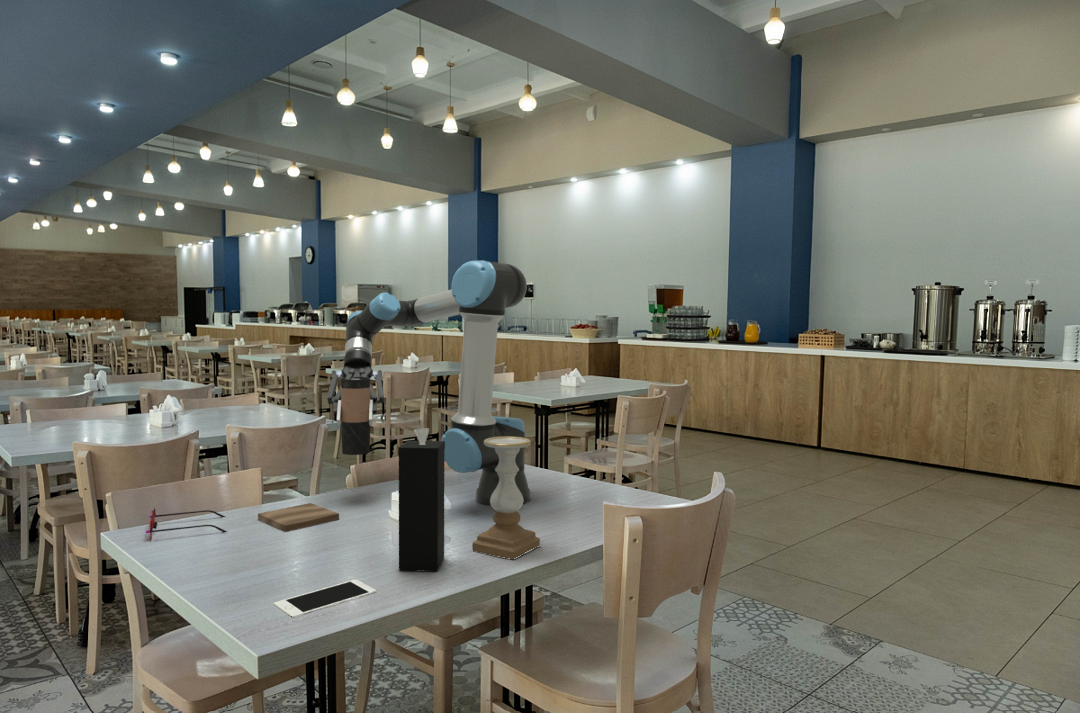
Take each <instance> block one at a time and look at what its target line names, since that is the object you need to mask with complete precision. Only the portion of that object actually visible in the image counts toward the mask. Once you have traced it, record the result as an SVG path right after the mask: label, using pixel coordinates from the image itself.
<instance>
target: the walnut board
mask: <svg viewBox="0 0 1080 713" xmlns="http://www.w3.org/2000/svg"><path fill="white" fill-rule="evenodd" d="M257 520H258V521H260V522H263V523H265V524H267V525H270V526H271V527H273V528H276V529H278V530H280V531H283V532H284V533H286V532H290V531H291V530H292V531H295V530H299V529H303V528H304V529H305V528H309V527H312V526H318V525H321V524H325V523H330V522H334V521H338V520H340V513H338V512H336V511H333V510H332V509H328V508H325V507H322V506H320V505H317V504H314V503H312V502H309V503H305V504H299V505H294V506H289V507H284V508H279V509H274V510H270V511H269V510H268V511H264V512H260V513H257Z"/></svg>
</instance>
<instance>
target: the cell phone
mask: <svg viewBox="0 0 1080 713" xmlns="http://www.w3.org/2000/svg"><path fill="white" fill-rule="evenodd" d="M373 591H376V592H377V590H376V589H375V588H373V587H371V586H369V585H367V584H366V583H363V582H361V581H360V580H359V579H351V580H347V581H345V582H341V583H338V584H333V585H330V586H327V587H324V588H319V589H317V590H313V591H309V592H306V593H303V594H299V595H296V596H292V597H288V598H286V599H285V598H284V599H281V600H278V601H275V602H273V605H274V606H275V607H276V606H277V608H278V609H279V610H280V611H282V612H283V611H284V612H283V613H285V612H286V613H287V614H289V615H290V616H292V617H291V618H295V617H294V616H297V617H299V616H298V615H301V614H304V613H307V614H309V613H308V612H310V613H312V612H311V611H314V610H316V609H320V608H323V607H325V606H326V607H327V606H330V605H333V604H334V603H335V604H336V603H340V602H342V601H343V600H349V598H350V599H351V598H355V597H359V596H363V595H365V594H369V593H371V592H373ZM363 597H364V596H363ZM340 604H341V603H340ZM333 606H334V605H333ZM330 607H331V606H330ZM327 608H328V607H327ZM320 610H321V609H320ZM314 612H315V611H314ZM286 613H285V614H286ZM287 614H286V615H287ZM289 615H288V616H289ZM304 615H305V614H304ZM290 616H289V617H290ZM301 616H302V615H301Z"/></svg>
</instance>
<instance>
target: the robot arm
mask: <svg viewBox="0 0 1080 713" xmlns="http://www.w3.org/2000/svg"><path fill="white" fill-rule="evenodd" d="M527 283H528V282H527V278H526V277H525V275H524V273H523V272H522V270H520V269H519V268H518V267H517V266H515V265H512V264H509V263H501V262H495V261H488V260H484V259H482V260H471V261H466V262H465V263H463V264H461V266H460V267H459V268H458V269H457V270H456V271H455V273H454V275H453V277H452V281H451V289H447V290H443V291H440V292H437V293H434V294H430V295H429V294H428V295H426V296H423V297H419V298H414V299H412V300H398V299H397V297H396V296H394V295H393V294H390V293H389V292H380V293H379V294H378V295H376V297H375V298H373V299H372V300H371V301H370V302H369V303H368V304H367V306H365V307H364V308H363V310H357V311H355V312H352V313H350V314H349V315H348V318H347V320H346V326H345V331H346V332H345V344H344V357H343V358H344V360H343V368H342V369H341V371H336V370H335V369H333V370H332V371H331V381H330V385H329V388H328V392H327V395H326V400H327V404H329V405H332V404H333V409H332V413H333V415H336V423H337V424H336V425H337V427H341V386H340V388H338V390H337V387H338V384H339V383H338V382H339V380H341V377H342V378H346V379H352V378H353V377H369V378H370V379H371V378H372V377H373V379H374V380H375V381H376V388H377V389H376V390H377V393H378V394H376V393H375V391H374V389H373V386H372V385H371V383H370V405H369V425H370V426H373V415H375V414H376V415H377V413H378V404H383V403H385V395H384V388H383V382H382V380H383V370H380V369H379V370H377V371H374V370H373V369H372V362H373V361H372V360H373V354H372V353H373V338H374V337H375V336H376V335H377V334H378V333H379V332H380V331H381V330H382V329H384V328H385V327H397V326H398V327H422V326H426V325H427V324H428V323H429V322H433V321H437V320H442V319H446V318H450V317H455V316H458V315H460V316H461V317H462V318H463V320H464V323H463V333H462V334H463V335H462V336H463V337H462V350H461V351H462V352H461V362H460V377H459V390H458V391H459V392H458V401H457V402H458V404H457V406H458V407H457V411H456V413H455V414H454V415H453V416H452V417H451V418H450V420H451V422H450V429H448V430H446V431H445V432H444V434H442V436H441V439H440V441H445V449H444V462H445V464H446V465H447V466H448V467H449V468H450V470H453V471H454V472H456V473H460V474H467V473H475V472H477V471H479V470H482V472H481V476H480V479H479V482H478V483H479V484H478V487H477V488H476V490H475V500H476V502H477V503H480V504H483V505H487V506H491V504H490V498H491V495H492V493H493V492H494V490H495V489H496V487H497V485H498V483H499V476H498V474H497V472H496V471H495V468H496V467H497V465H498V463H499V457H498V455H497V453H496V452H495V448H491V447H487V446H485V445H484V440H485V439H487V438H492V437H503V436H511V437H523V438H526V436H525V435H526V431H525V422H524V421H523V419H521V418H518V417H507V416H496V415H495V416H494V415H492V405H493V404H492V403H493V392H494V382H495V381H494V378H495V366H496V356H497V355H496V354H497V341H498V340H497V339H498V328H499V327H498V326H499V323H500V322H501V320H502V319H503V318H505V316H506V315H505V313H506V309H509V308H513V307H514V306H517V305H518V304H520V303H521V302H522V301H523V299H524V298H525V297H526V293H527V288H528V285H527ZM336 390H337V392H336ZM525 448H526V447H524V448H520V449H519V452H518V454H517V455H516V457H515V463H516V465H517V467H518V468H519V471H518V472H517V474H516V476H515V483H516V485H517V487H518V489H519V490H520V492H521V494H522V496H523V500H524V501H523V503H524V504H526V502H527V503H528V502H530V501H529V500H531V489H530V488H529V485H528V480H527V477H526V476H527V475H526V472H525Z"/></svg>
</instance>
